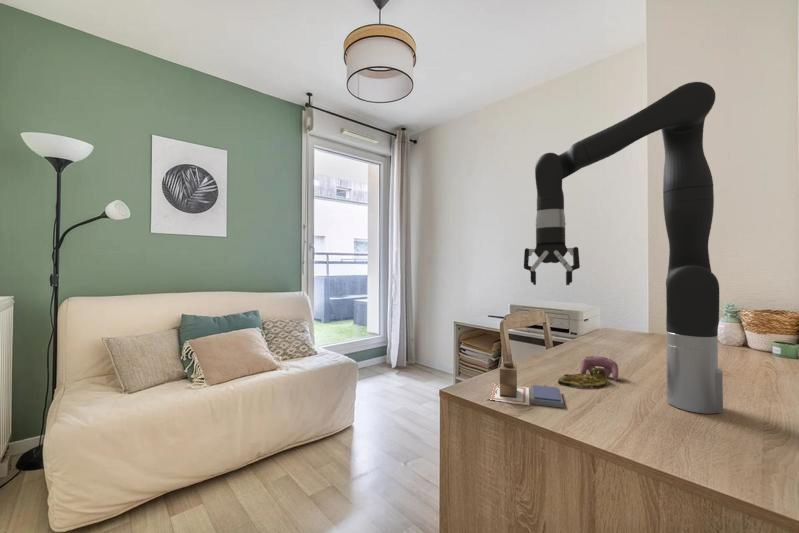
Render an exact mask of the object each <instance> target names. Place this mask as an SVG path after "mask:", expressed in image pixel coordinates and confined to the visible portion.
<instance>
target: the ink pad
mask: <svg viewBox="0 0 799 533" xmlns="http://www.w3.org/2000/svg"><path fill="white" fill-rule="evenodd" d="M530 394H531V395H530V397H531V405H537V406H544V407H545V406H546V407H553V408H561V409H564V408H565V406H564V400H563V397H562V392H561V389H560V388H558V387H557V386H556V387H555V386H548V385H547V386H546V385H537V384H533V385H530Z"/></svg>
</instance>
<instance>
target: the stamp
mask: <svg viewBox="0 0 799 533" xmlns="http://www.w3.org/2000/svg"><path fill="white" fill-rule="evenodd" d="M517 367H518V364H517V363H514V362H513V361H510V360H508V361H507V360H506V361H503V362H501V363H500V367H499V385H500V396H502V397H510V398H516V397H517V386H518V368H517Z"/></svg>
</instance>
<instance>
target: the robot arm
mask: <svg viewBox="0 0 799 533" xmlns="http://www.w3.org/2000/svg"><path fill="white" fill-rule="evenodd" d="M715 102H716V91H715V89H714V88H713V86H711V84H709V83H707V82H703V81H691V82H687V83H684V84H683V85H680V86H678V87H677V88H675V89H674V90H672V91H670V92H669V93H667V94H665V95H664V96H662V97H661V98H659V99H658V100H656V101H654V102H652V103H651V104H649V105H648V106H646V107H645V108H643V109H641V110H639V111H638V112H635V113H634V114H632V115H630V116H628V117H627V118H624V119H623V120H620V121H619V122H617V123H615V124H613V125H611V126H609V127H607V128H604V129H602V130H601V131H600V130H599V131H598V132H596V133H593V134H591V135H589V136H587V137H585V138H582V139H581V140H578V141H577V142H575V143H573V144H572V145H571V146H570V147H569V149H567V150H566V151H564V152H563V153H560V154H557V153H554V152H546V153H544V154H542V155H540V157H539V158H538V159H537V160H536V163H535V166H534V174H535V175H534V178H535V185H536V218H535V247H534V248H528V247H526V248H525V249H524V252H523V254H524V255H523V257H524V258H523V269H524V270H527V271H529V273H530V283H532V284H533V285H534V286H536V285H537V272H536V269H537V268H538V267H539V266H540V265H541V263H542V264H543V263H544V264H550V263H551V264H556V263H560V264H561V265H562V266H563V268H564V269H565V270H566V271H565V286H570V284H572V283H573V271H575V270H579V269H580V266H581V265H580V253H579V252H580V251H579V247H577V246H574V247H567V245H566V224H567V223H566V214H565V195H564V191H563V180H564V179H565V178H567V177H569V176H571V175H572V174H574V173H576V172H578V171H579V170H581V169H583V168H585V167H588V166H591V165H593V164H595V163H597V162H600V161H602V160H604V159H607V158H609V157H611V156H613V155H615V154H617V153H618V152H620V151H622V150H624V149H625V148H626V147H629V146H630V145H631V144H634V143H635V142H637V141H639V140H641V139H642V138H645V137H646V136H648V135H650V134H654V133H656V132H657V131H660V130H661V134H662V140H663V147H664V164H663V165H664V166H663V181H662V182H663V184H662V185H663V186H662V187H663V188H662V190H663V191H662V194H663V195H662V196H663V197H662V199H663V202H662V203H663V204H662V205H663V214H664V222H665V228H666V234H667V238H668V246H669V247H668V248H669V254H668V267H667V268H668V270H667V275H666V276H667V277H666V281H665V288H666V290H665V291H666V293H665V295H666V296H665V297H666V299H665V300H666V301H665V302H666V318H665V320H666V321H665V323H666V324H665V325H666V331H665V333H666V336H665V337H666V401H667V403H668V405H671V406H672V407H675V408H678V409H679V410H682V411H683V410H684V411H688V412H693V413H697V414H706V415H707V414H709V415H710V414H712V415H713V414H724V391H723V390H724V385H723V383H724V382H723V381H724V379H723V378H724V377H723V373H724V372H723V371H722V369H720V368H719V350H718V348H719V347H718V346H719V345H718V344H719V343H718V342H719V341H718V340H719V339H718V337H719V336H718V335H719V333H718V331H719V324H720V284H719V283H720V282H719V280H718V278H717V276H716V275H715V274H714V273H713V272H712V268H711V262H710V255H709V254H710V253H709V252H710V251H709V242H710V241H709V240H710V235H711V234H710V233H711V230H712V223H713V216H714V208H715V207H714V206H715V201H714V200H715V197H714V196H715V194H714V191H715V190H714V180H713V179H714V178H713V175H712V171H711V169H710V166H709V163H708V161H707V159H706V155H705V152H704V142H703V141H704V127H705V120H706V118H707V116H708V114H709V113H710V112H711V110H712V109H713V107H714V105H715ZM533 253H534V254H535V256H537V260H536V261H535V262H534V263H533V264H532V266H530V265H529V261H530V257H531V256H533ZM567 253H568V254H569V255H570V256H572V261H573V264H572V265H571V264H569V263H568V261H567V260H566V259H565V256H566V254H567Z"/></svg>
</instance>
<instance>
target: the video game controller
mask: <svg viewBox="0 0 799 533" xmlns="http://www.w3.org/2000/svg"><path fill="white" fill-rule="evenodd" d="M597 367H599V368H603V369H604V370H605V373H606V377H607V378H609V376H610V375H611V374H612V379H613V381H614V382H617V381H618V379H619V374H620V373H619V366H618V364H617V362H616V361H614V360H613V359H612V358H607V357H606V356H600V355H594V356H593V355H591V356H585V357H584V358H582V360H581V364H580V374H587V372H589V373H590V372H591V370H592V369H593V368H597ZM598 372H599V371H598ZM598 372H597V374H598Z"/></svg>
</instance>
